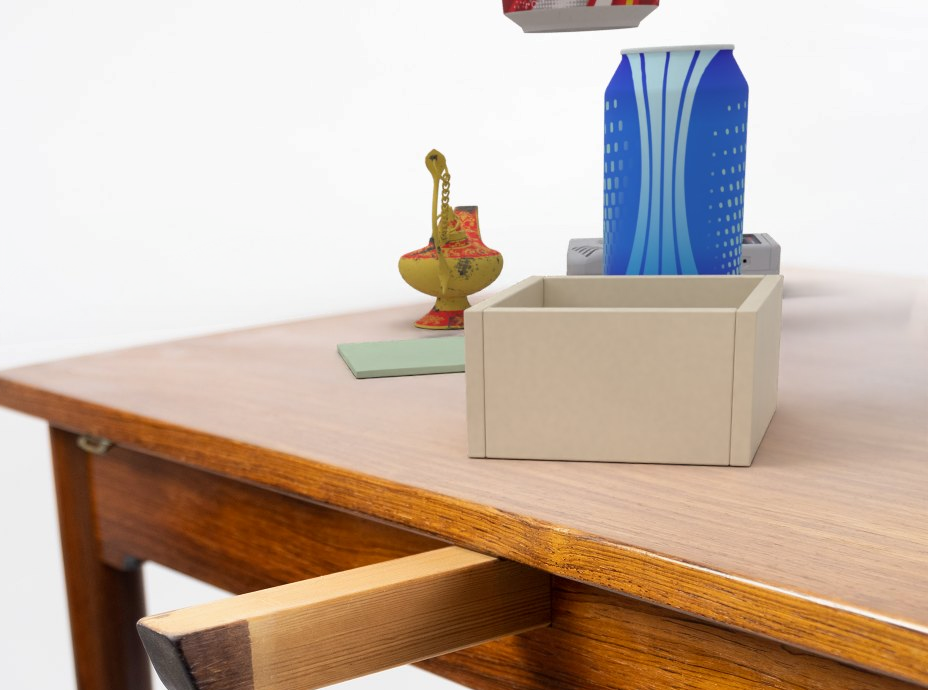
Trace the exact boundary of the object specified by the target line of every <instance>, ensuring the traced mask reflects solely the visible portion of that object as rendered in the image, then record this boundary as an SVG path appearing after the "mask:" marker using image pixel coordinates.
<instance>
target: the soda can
mask: <svg viewBox="0 0 928 690" xmlns="http://www.w3.org/2000/svg"><path fill="white" fill-rule="evenodd" d="M501 5H502V14H503V15H504V16H505V17H506V18H507V19H509V20H510V21H511V22H513V23H514V24H516V25H517V26H518V27H520V28H521V30H522V31H523V33H524V34H554V33H555V34H556V33H557V34H558V33H578V32H597V31H613V30H614V31H615V30H626V29H635V28H639V26H640V24H641V22H642V21H644V20H645V19H646V18H647V17H648V16H650V15H651V14H652V13H653V12H654V11H655V10H657V9H658V8H659V7H660V0H501Z"/></svg>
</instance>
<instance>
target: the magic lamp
mask: <svg viewBox="0 0 928 690" xmlns="http://www.w3.org/2000/svg"><path fill="white" fill-rule="evenodd" d="M424 157H425V158H424V165H425V167H426V169H427V170H428V172H429V173H430V174H431V178H432V180H433V190H432V201H431V202H432V203H431V230H432V231H431V236H430V237H429V239H428V244H427V245H426V246H424V247H422V248H418V249H416V250H412V251H410V252H407V253H404V254H403V255H401V256H400V258H399V260H398V263H397V268H398V273H399V274H400V276H401V278H402V280H403V281H404V282H405V283H406V284H407V285H408V286H409V287H411V288H412V289H414V290H415V291H418V292H419V293H422V294H424V295H428V296H431V297H432V298H433V297H434V298H436V300H435V302H434V305H433V306H432V308H431V309H430V311H428V312H427V313H426V314H425V315H424V316H422V317H421V318H419V319H418V320H416V321H415V322H414V323H413V326H415V327H417V328H419V329H421V328H422V329H428V330H429V329H430V330H458V329H459V330H460V329H461V330H462V329H464V310H466V309H468V308H470V307H472V306H473V305H471V304H470V301H469V299H468V297H469V296H472V295H475V294H477V293H479V292H481V291H483V290H484V289H486V288H487V287H490V286H491V285H492V284H493V283H495V281H496V280H497V279H498V278H499V276H501V273H502V271H503V268H504V257H503V255H502V253H501V252H500V251H498V250H496V249H494V248H491V247H489V246H487V245H486V244H485V243H484V242H483V240H482V239H483V238H482V235H481V229H480V228H481V227H480V222H479V221H480V220H479V206H478V205H457V206H454V208H453V207H452V206H451V205H450V204H449V202H450V193H451V191H450V187H451V183H450V180H451V174H450V173H449V167H448V165H447V159H446V157H445V155H444V154H443V153H442V152H440V151H439V150H438V149H436V148H432V149H431V150H430V151H429V152H428V153H427V154H426V155H425V156H424ZM440 180H441V181H442V183H441V200H440V201H441V204H440V213H439V214H438V203H439V189H440ZM438 220H439V221H438Z"/></svg>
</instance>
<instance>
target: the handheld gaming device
mask: <svg viewBox="0 0 928 690" xmlns="http://www.w3.org/2000/svg"><path fill="white" fill-rule="evenodd" d="M781 253H782V247H781V245H780V243H778V242H777V241H776V240H775V239H774V238H773V237H772V236H771V235H770V234H769V233H768V232H761V233H758V232H754V233H743V239H742V263H741V275H765V276H766V275H780V271H781ZM597 275H603V237H584V238H583V237H581V238H571V239H569V240H568V245H567V250H566V275H565V276H597Z"/></svg>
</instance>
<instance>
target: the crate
mask: <svg viewBox="0 0 928 690" xmlns="http://www.w3.org/2000/svg"><path fill="white" fill-rule="evenodd" d="M783 294H784V274H779V275H766V276H765V275H597V276H566V275H531V276H529V277H527V278H525V279H523V280H520V281H519V282H517V283H515V284H513V285H510V286H509V287H507V288H504V289H503V290H502V291H499V292H496V294H493V295H491V296H490V297H488V298H486V299H484V300H482V301H479V302H478V303H475V304H474V305H471V306H472V307H470V308H468V309H466V310H464V328H463V334H464V335H463V336H464V340H465V371H464V374H465V375H464V376H465V405H466V406H465V410H466V411H465V412H466V413H465V415H466V416H465V417H466V419H465V420H466V451H467V452H466V453H467V457H468V458H479V459H480V458H481V459H482V458H483V459H484V458H488V459H512V460H515V459H516V460H541V461H542V460H543V461H545V460H547V461H571V462H572V461H575V462H602V463H603V462H605V463H607V462H608V463H609V462H610V463H639V464H665V465H666V464H667V465H669V464H670V465H671V464H672V465H697V466H698V465H699V466H701V465H702V466H731V467H750V466H751V464H752V461H753V460H754V457H755V456H756V453H757V451H758V449H759V447H760V445H761V443H762V440H763V438H764V437H765V434H766V431H767V429H768V428H769V425H770V423H771V421H772V419H773V417H774V415H775V412H776V410H777V408H778V407H777V406H778V389H779V388H778V387H779V370H780V369H779V368H780V354H781V353H780V351H781V350H780V349H781V335H782V334H781V331H782V316H783V315H782V313H783Z"/></svg>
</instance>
